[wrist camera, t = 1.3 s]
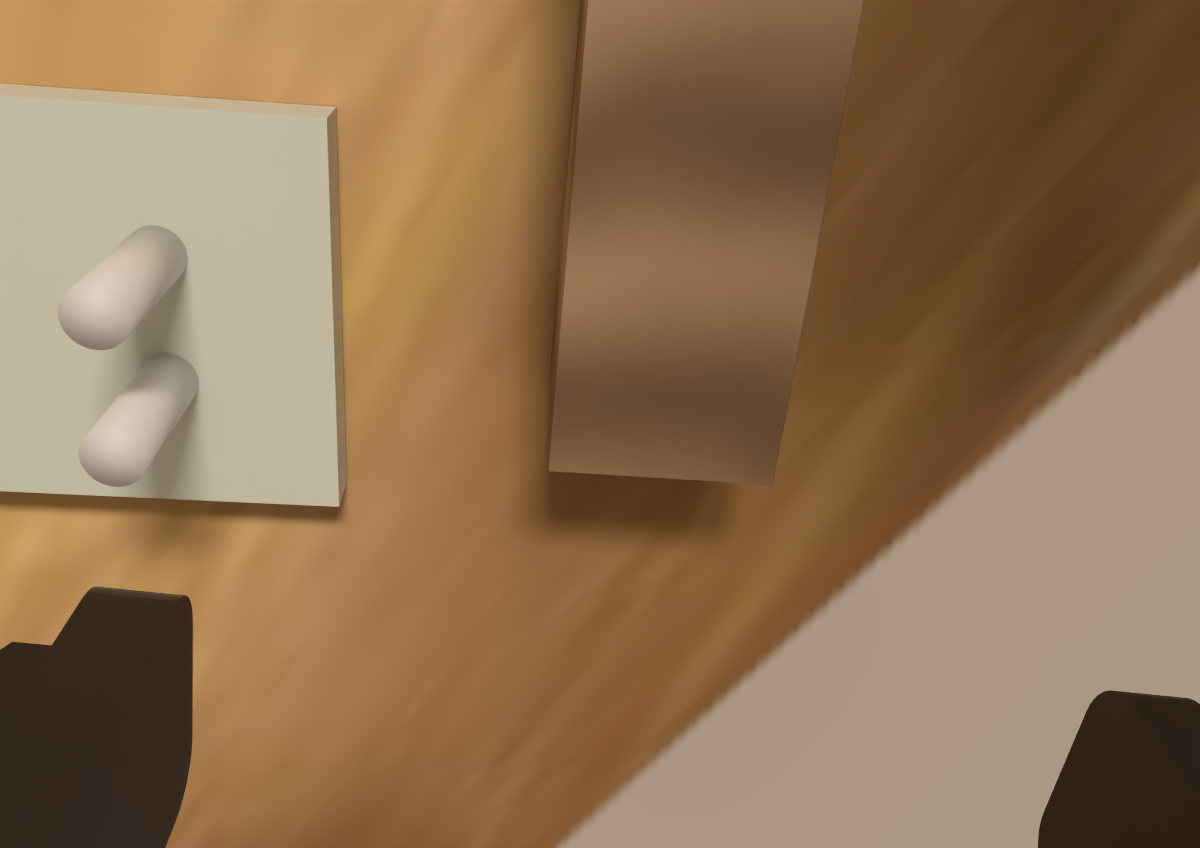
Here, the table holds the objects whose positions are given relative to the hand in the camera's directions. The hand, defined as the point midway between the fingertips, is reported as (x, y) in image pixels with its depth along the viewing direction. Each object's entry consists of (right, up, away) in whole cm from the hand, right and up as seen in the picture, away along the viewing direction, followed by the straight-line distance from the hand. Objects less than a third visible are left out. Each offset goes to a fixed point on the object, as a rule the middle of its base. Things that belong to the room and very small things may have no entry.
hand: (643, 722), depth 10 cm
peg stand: (-17, +6, +17) cm, 25 cm away
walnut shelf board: (+2, +11, +16) cm, 20 cm away
